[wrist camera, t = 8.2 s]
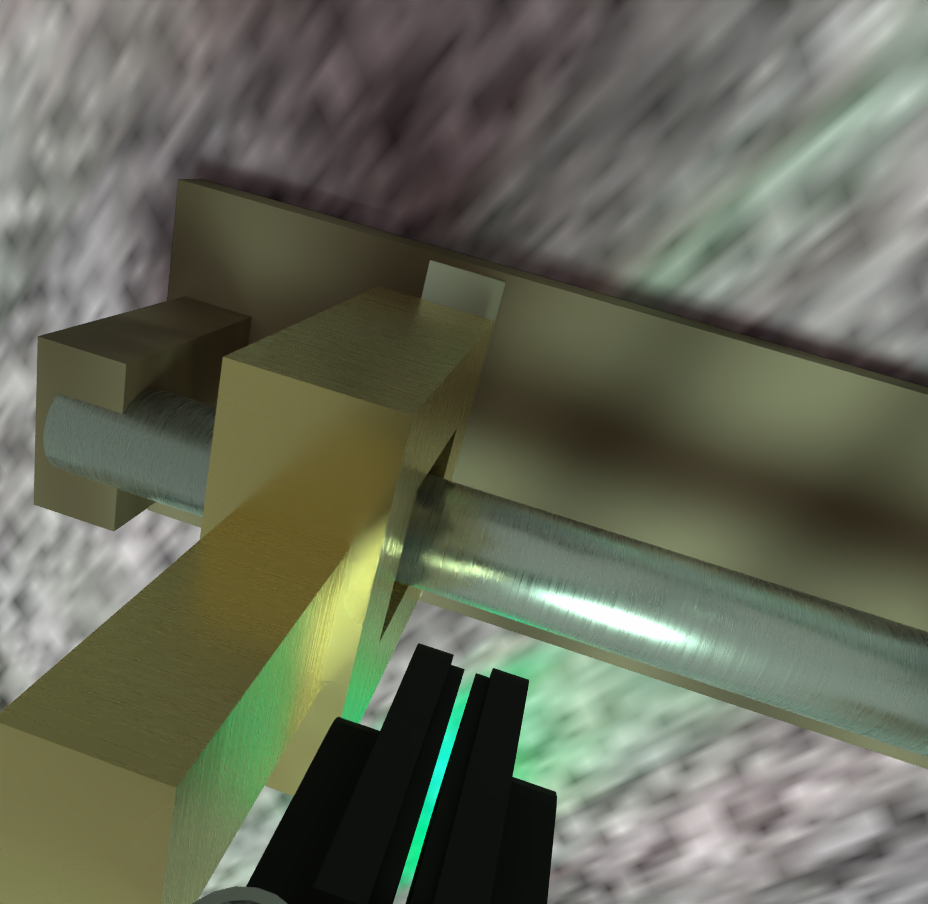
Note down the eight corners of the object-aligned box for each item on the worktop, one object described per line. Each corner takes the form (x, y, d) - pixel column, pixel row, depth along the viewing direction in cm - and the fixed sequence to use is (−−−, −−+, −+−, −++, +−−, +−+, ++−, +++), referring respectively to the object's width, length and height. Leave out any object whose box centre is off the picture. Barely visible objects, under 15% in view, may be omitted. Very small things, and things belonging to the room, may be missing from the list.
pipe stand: (1180, 459, 18) (1477, 608, 12) (973, 759, 22) (1115, 992, 16) (202, 179, 20) (18, 179, 14) (169, 494, 24) (12, 604, 18)
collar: (494, 320, 18) (258, 592, 6) (422, 591, 21) (171, 1118, 9) (379, 286, 18) (-60, 484, 6) (323, 558, 21) (-43, 1030, 9)
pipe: (1178, 677, 15) (1292, 778, 13) (1101, 775, 16) (1191, 887, 14) (124, 348, 17) (38, 377, 15) (116, 453, 19) (34, 498, 16)
